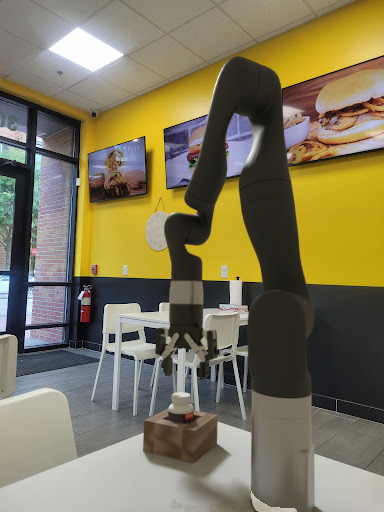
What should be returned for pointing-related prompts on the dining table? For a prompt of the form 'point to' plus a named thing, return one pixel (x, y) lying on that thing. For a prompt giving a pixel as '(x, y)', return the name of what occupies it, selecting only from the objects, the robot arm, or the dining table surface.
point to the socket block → (180, 436)
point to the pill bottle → (180, 408)
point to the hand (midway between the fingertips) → (185, 377)
